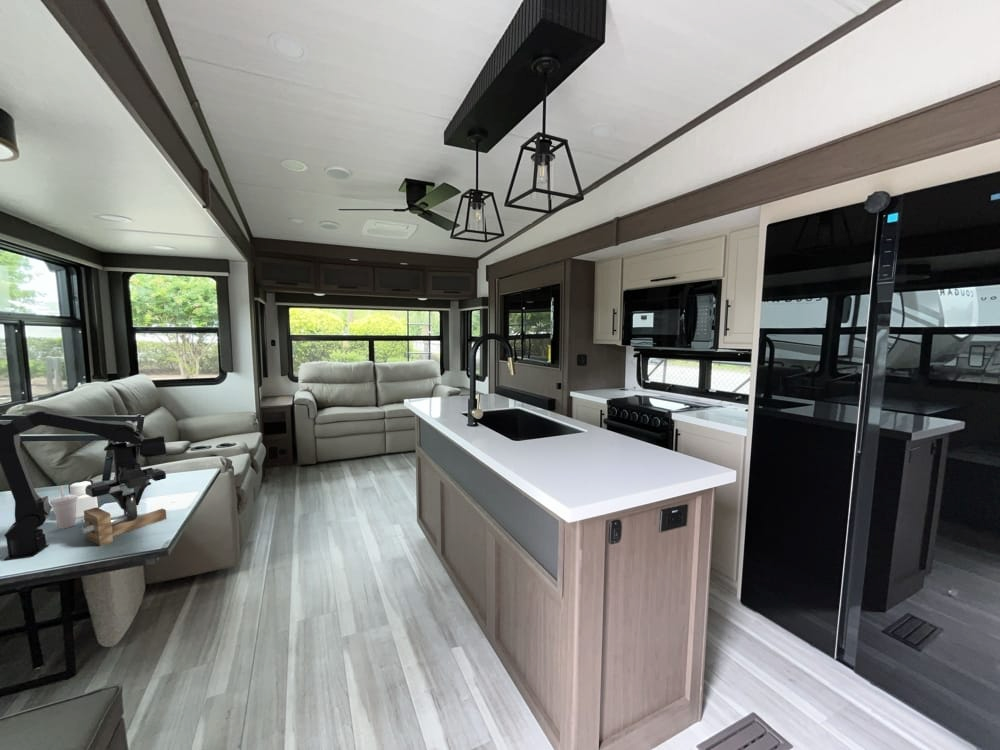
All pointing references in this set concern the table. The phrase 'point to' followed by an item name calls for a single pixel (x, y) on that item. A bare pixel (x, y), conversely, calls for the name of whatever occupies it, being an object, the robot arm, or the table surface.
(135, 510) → the door handle
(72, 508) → the smoothie
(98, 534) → the wooden mallet
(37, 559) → the table surface
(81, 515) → the medicine bottle
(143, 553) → the table surface
